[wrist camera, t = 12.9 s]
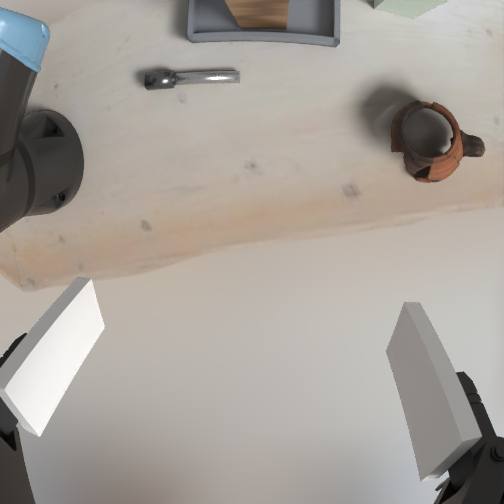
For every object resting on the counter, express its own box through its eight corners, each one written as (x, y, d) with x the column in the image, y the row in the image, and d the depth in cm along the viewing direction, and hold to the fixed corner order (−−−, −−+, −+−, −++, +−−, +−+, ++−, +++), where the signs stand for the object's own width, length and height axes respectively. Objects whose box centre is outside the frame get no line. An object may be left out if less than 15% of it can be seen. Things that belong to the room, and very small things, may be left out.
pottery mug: (394, 189, 36) (396, 177, 29) (383, 120, 36) (380, 93, 29) (480, 184, 31) (500, 171, 24) (465, 115, 31) (479, 88, 24)
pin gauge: (151, 90, 32) (144, 90, 30) (151, 73, 31) (144, 71, 29) (239, 86, 32) (237, 85, 30) (240, 68, 31) (237, 66, 29)
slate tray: (193, 42, 30) (186, 39, 27) (196, -15, 26) (190, -22, 24) (335, 47, 29) (339, 43, 26) (336, -12, 25) (339, -19, 23)
